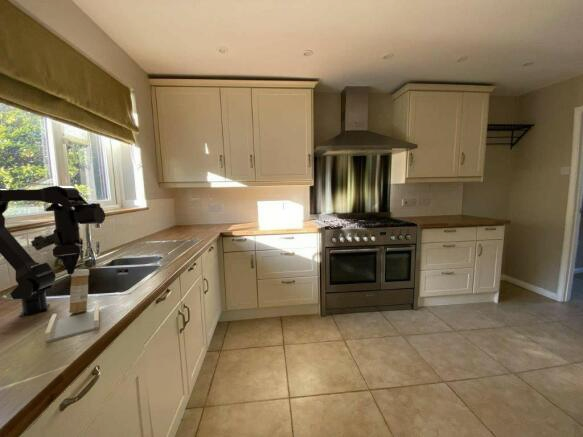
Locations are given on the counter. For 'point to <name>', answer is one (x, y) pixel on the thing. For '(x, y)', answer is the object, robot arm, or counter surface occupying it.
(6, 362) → the counter surface
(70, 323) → the cradle board
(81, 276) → the sprinkles bottle
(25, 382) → the counter surface
